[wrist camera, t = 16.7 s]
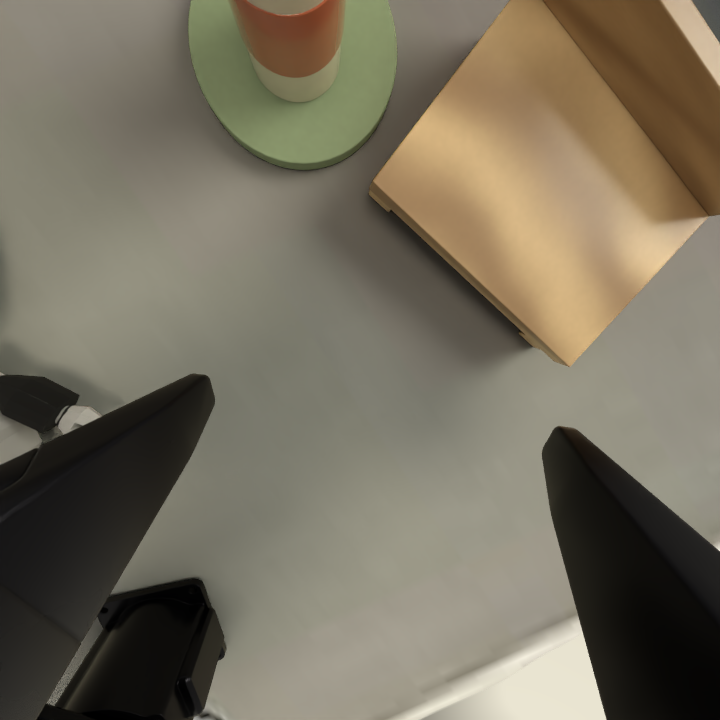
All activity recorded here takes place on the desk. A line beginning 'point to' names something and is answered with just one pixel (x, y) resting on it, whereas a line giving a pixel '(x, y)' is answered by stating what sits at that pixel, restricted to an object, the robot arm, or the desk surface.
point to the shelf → (566, 160)
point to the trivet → (296, 119)
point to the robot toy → (35, 412)
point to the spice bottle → (292, 43)
